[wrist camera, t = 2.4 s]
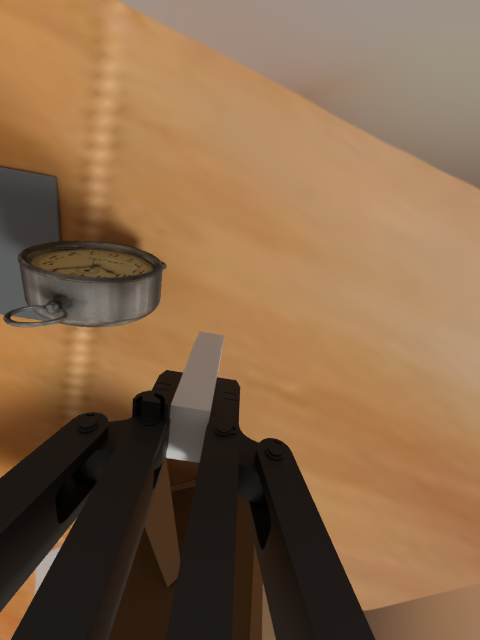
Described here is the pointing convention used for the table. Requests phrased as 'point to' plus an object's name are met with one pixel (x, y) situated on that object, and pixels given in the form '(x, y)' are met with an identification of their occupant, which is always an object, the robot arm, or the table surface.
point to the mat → (24, 229)
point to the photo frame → (163, 566)
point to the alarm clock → (88, 284)
